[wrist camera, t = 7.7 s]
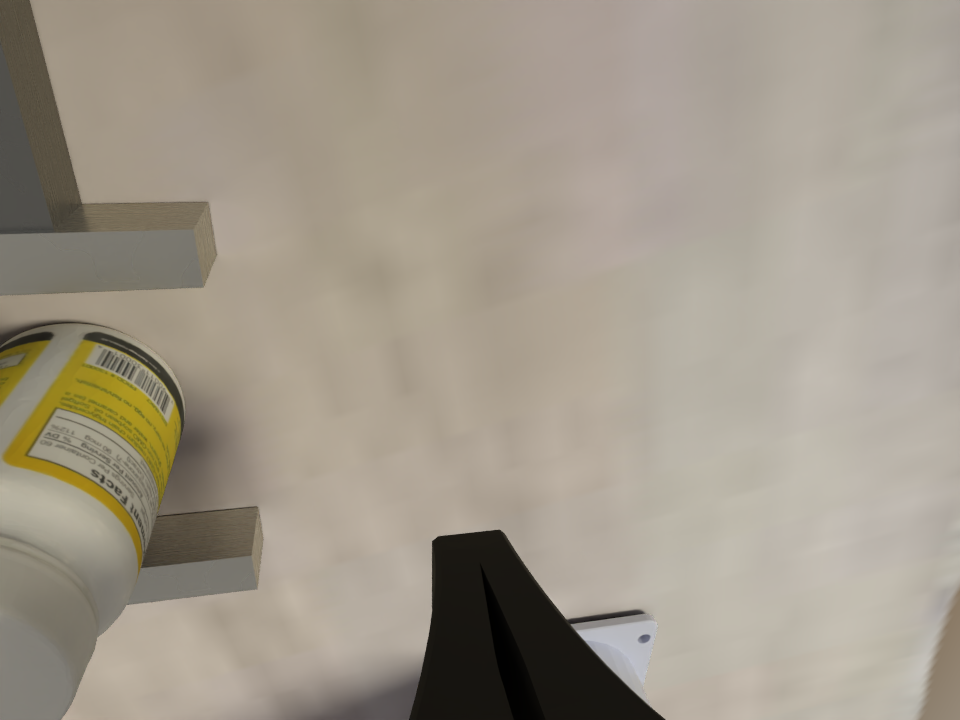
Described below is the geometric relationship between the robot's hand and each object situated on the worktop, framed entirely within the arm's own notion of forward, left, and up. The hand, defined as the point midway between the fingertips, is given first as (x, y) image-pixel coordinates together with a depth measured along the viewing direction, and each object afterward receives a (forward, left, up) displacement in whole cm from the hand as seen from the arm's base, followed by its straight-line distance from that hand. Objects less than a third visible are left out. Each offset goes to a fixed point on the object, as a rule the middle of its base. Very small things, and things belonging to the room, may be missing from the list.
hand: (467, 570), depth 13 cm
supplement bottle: (0, +9, -7) cm, 11 cm away
